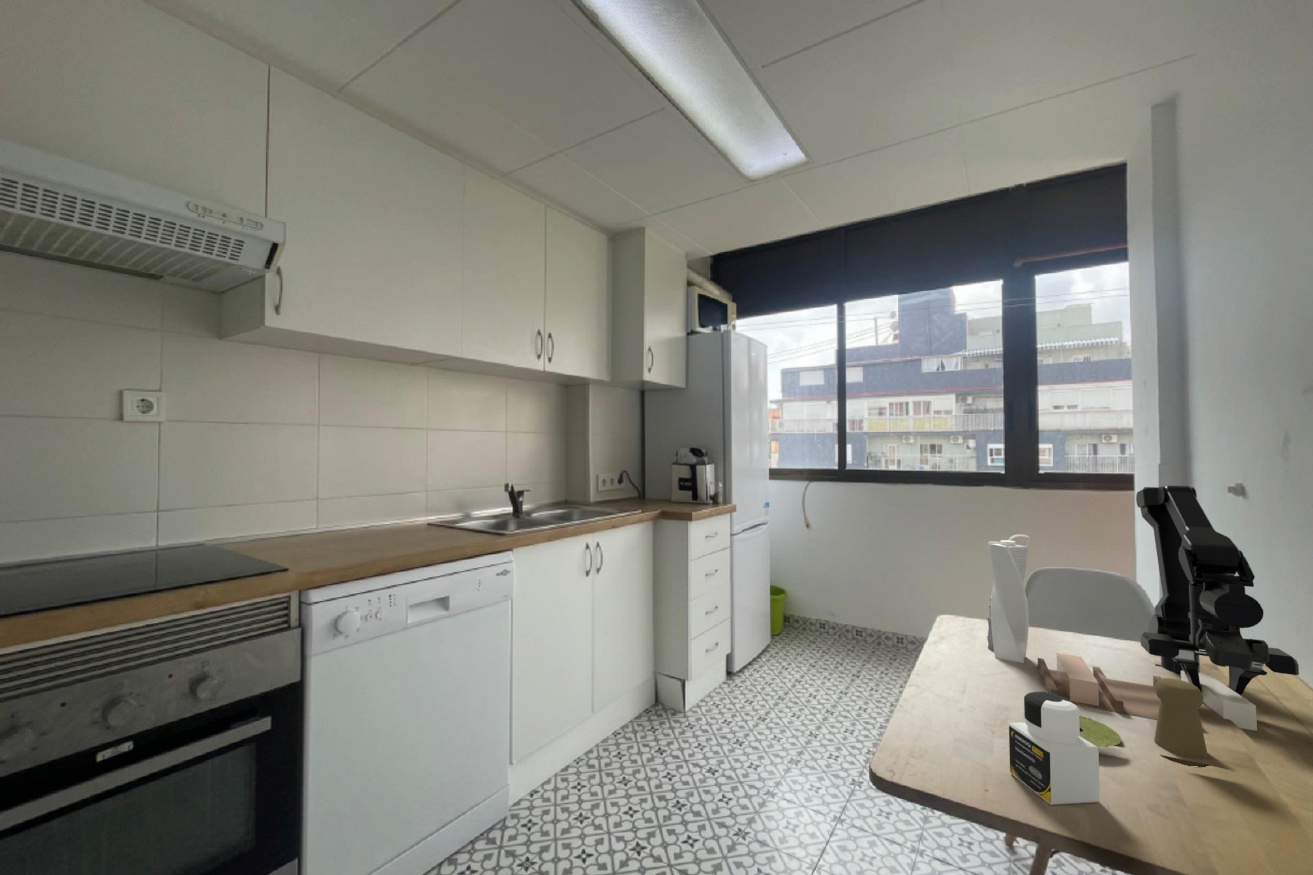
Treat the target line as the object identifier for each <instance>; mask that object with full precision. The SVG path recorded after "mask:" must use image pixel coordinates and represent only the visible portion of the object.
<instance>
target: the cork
mask: <svg viewBox="0 0 1313 875" xmlns="http://www.w3.org/2000/svg"><path fill="white" fill-rule="evenodd" d="M1155 691H1156V694H1157V696H1158V698H1159V699H1160V705H1159V712H1158V718H1157V720H1156V725H1155V726H1156V727H1155V732H1154V740H1153V741H1154V743H1155V745H1157V746H1158V747H1159V748H1161V749H1163V750H1165V751H1166V752H1169V753H1173V754H1174V755H1177V756H1181V757H1185V758H1189V759H1190V758H1191V759H1198V760H1199V759H1200V760H1201V759H1207V757H1208V756H1209V755H1208V750H1207V749H1208V748H1207V744H1206V741H1205V740H1206V739H1205V736H1204V730H1203V725H1202V721H1201V716H1200V712H1199V711H1200V710H1199V708H1201V707H1202V706H1203V705H1204V703H1203V695H1202V693H1201V691H1200V690H1199V688H1198V687H1196V686H1195V685H1193V684H1191V683H1188V682H1185V681H1182V680H1181V679H1177V678H1171V677H1163V678H1162V679H1159V680H1158V681H1157V682H1156V684H1155ZM1159 756H1160V757H1161V758H1162V757H1163V758H1164V759H1166V760H1168V761H1171V762H1173V763H1176V762H1177V763H1176V764H1179V763H1180V765H1184V766H1186V765H1187V767H1191V766H1198V767H1197V768H1202V767H1204V768H1207V767H1206V766H1208V767H1209V766H1210V764H1207V763H1201V762H1197V761H1192V760H1188V759H1182V758H1178V757H1173V756H1169V755H1168V756H1167V755H1163V754H1159Z"/></svg>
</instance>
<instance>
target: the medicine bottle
mask: <svg viewBox="0 0 1313 875" xmlns="http://www.w3.org/2000/svg"><path fill="white" fill-rule="evenodd" d="M1023 709H1024V710H1023V711H1024V712H1023V713H1024V714H1023V716H1024V721H1023V722H1010V723H1009V724H1008V741H1009V743H1008V746H1009V747H1008V748H1009V749H1008V750H1009V752H1008V753H1009V773H1010V774H1011V775H1012V776H1014V778H1016V779H1017V780H1018V781H1020V783H1022V784H1023V785H1025V786H1026V787H1027V788H1029V789H1030V790H1031V791H1033V793H1034V794H1036V795H1037V796H1039V797H1040V798H1041V799H1042V800H1043V801H1045V803H1047V804H1049V805H1051V806H1054V805H1072V804H1089V803H1091V804H1092V803H1100V801H1101V798H1100V796H1101V795H1100V792H1101V790H1100V788H1101V787H1100V764H1099V762H1100V757H1099V747H1098V746H1095V745H1093V744H1092V743H1090V742H1088V741H1087V740H1085V739H1083V738H1082V737H1080V726H1079V715H1080V708H1079V706H1078V705H1075V704H1074V703H1073V702H1072V701H1070V700H1068V699H1066V698H1064V697H1062V696H1059V695H1056V694H1053V693H1048V692H1047V691H1032V692H1028V693H1026V694H1025V695H1024V697H1023Z"/></svg>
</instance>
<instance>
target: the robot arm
mask: <svg viewBox="0 0 1313 875" xmlns="http://www.w3.org/2000/svg"><path fill="white" fill-rule="evenodd" d="M1135 500H1136V501H1135V502H1136V506H1137V508H1139V509H1140V513H1141V517H1142V518H1143V519H1144V520H1145V521H1146V522H1147V524H1149V525H1150V527H1151V528H1152V530H1153V536H1154V542H1155V550H1156V556H1157V557H1156V558H1157V564H1158V571H1159V577H1160V585H1161V592H1162V597H1161V598H1160V599H1159V601H1157V604H1156V605H1155V607H1154V614H1153V615H1152V617H1151V620H1150V622H1149V625H1148V627H1147V631H1148V632H1147V631H1144V632H1143V633H1142V634H1141V635H1140V646H1141V647H1142V649H1144V650H1145V651H1146V652H1147V653H1148V654H1150V655H1151V656H1157V657H1160V664H1159V663H1157V664H1156V663H1155V664H1154V666H1155V667H1160V668H1162V669H1163V670H1164V669H1165V670H1166V671H1169V672H1171V673H1173V674H1177V675H1178V676H1181V671H1184V673H1185V675H1186V677H1187V679H1188V681H1189V683H1191V684H1193V685H1195V686H1196V687H1198V688H1199V690H1200V691H1201V686H1200V680H1199V673H1201V665H1200V663H1201V662H1200V656H1204V657H1208V658H1209V660H1210V662H1211V663H1212V664H1213V665H1215V666H1218V667H1224V668H1225V667H1228V687H1229V688H1230V689H1232V690H1233V691H1234V692H1236V693H1237V694H1239V695H1240V696H1242V697H1243V693H1244V692H1245V690H1246V688H1247V686H1248V685H1249V683H1250V682H1251V681H1252V679H1255V678H1256V677H1258V676H1267V674H1268V672H1267V671H1266V670H1264V666H1265V667H1266V668H1268V669H1269V671H1271V672H1272V673H1278V674H1286V675H1292V676H1299V675H1300V671H1299V670H1300V668H1299V663H1298V660H1297V659H1296V658H1295V657H1293V656H1291V655H1290V654H1289V653H1287V652H1285V651H1283V650H1282V649H1280V648H1278V647H1277V648H1276V647H1270V646H1269V645H1268V643H1267V641H1265V640H1263V639H1255V638H1254V639H1253V638H1243V635H1242V634H1241V629H1248V628H1251V627H1255V626H1257V625H1258V624H1259V623H1261V621H1262V619H1263V618H1264V613H1265V612H1264V609H1263V607H1262V605H1261V604H1260V602H1259V601H1258V600H1257V599H1256V598H1254V597H1253V596H1250V595H1248V594H1247V593H1246V587H1250V588H1254V587H1255V583H1254V580H1255V578H1256V576H1255V574H1254V572H1253V570H1252V567H1251V566H1250V564H1249V562H1248V560H1247V558H1246V556H1245V555H1244V552H1243V551H1242V550H1240V549H1239V548H1238V546H1237V545H1236V544H1235V543H1234V541H1233V540H1232V539H1231V538H1230V537H1228V536H1226V535H1225V534H1223V533H1220V532H1218V531H1216V530H1215V528H1214V527H1213V525H1212V523H1211V521H1210V519H1209V518H1208V516H1207V514H1206V513H1205V511H1204V509H1203V507H1202V506H1201V504H1200V503H1199V501H1198V498H1197V491H1196V489H1195V487H1191V486H1189V485H1172V484H1171V485H1163V486H1144V487H1143V488H1142V489H1141V490H1139V491H1137V492H1136V495H1135Z"/></svg>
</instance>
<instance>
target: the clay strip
mask: <svg viewBox="0 0 1313 875" xmlns="http://www.w3.org/2000/svg"><path fill="white" fill-rule="evenodd" d="M1180 680H1182V681H1185V682H1188V683H1189V681H1188V679H1187V677H1186V675H1185V673H1184V671H1181V675H1180ZM1199 680H1200V686H1201V693H1202V695H1203V704H1204V705H1206V706H1207V707H1208V708H1210V709H1211V710H1212V711H1214V712H1215V713H1216V714H1218V716H1220V717H1221V718H1222V719H1224V720H1230V721H1231V722H1232V723H1233V724H1234V725H1235V726H1237V727H1238V728H1239V729H1243V730H1244V729H1245V730H1249V731H1256V732H1257V731H1258V726H1257V725H1258V723H1257V722H1258V721H1257V706H1256V704H1254V703H1252V702H1251V701H1249V700H1248V699H1247V698H1245V697H1243V695H1242V696H1240V695H1239V694H1237V693H1236V692H1234V691H1233V690H1232V689H1230V688H1229V686H1227V685H1225V684H1224V683H1223V682H1221V681H1220V680H1219V679H1217V678H1216V677H1214V676H1212V675H1211V674H1209V673H1205V672H1204V673H1203V672H1200V673H1199Z"/></svg>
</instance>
